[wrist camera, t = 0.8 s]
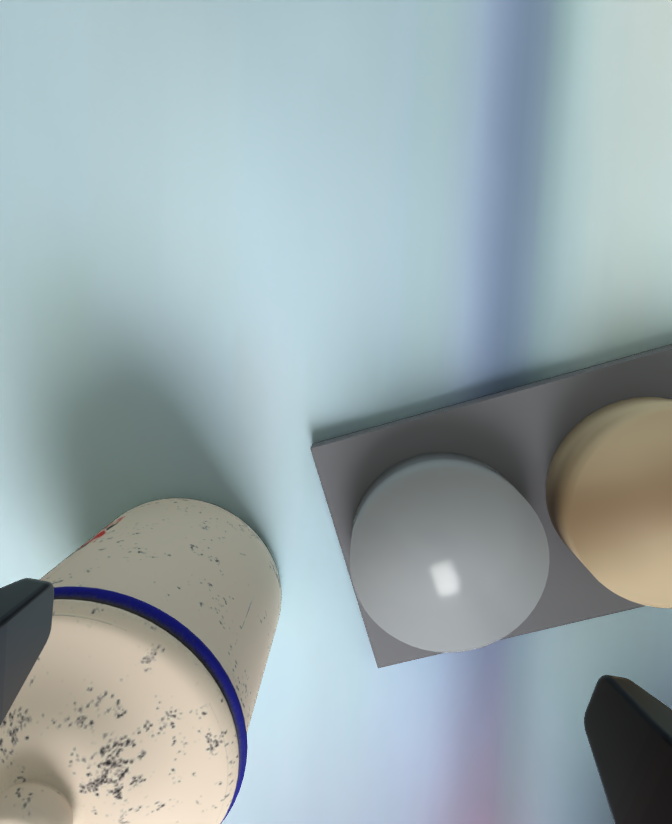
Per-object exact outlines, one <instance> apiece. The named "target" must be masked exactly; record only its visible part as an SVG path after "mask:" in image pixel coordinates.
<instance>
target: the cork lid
mask: <svg viewBox="0 0 672 824" xmlns="http://www.w3.org/2000/svg"><path fill="white" fill-rule="evenodd" d="M546 503H547V509H548V513H549V516H550V519H551V522H552V524H553V526H554V528H555V530H556V532H557V534H558V535H559V537H560V538H561V540H562V541H563V542H564V543H565V544H566V546H567V547H568V548H569V549H570V550H571V551H572V552H573V553H574V554H575V556H576V557H577V558H578V559H579V560H580V561H581V562H582V563H583V565H584V566H585V567H586V568H587V569H588V570H589V571H590V572H591V573H592V575H593V576H594V577H595V578H596V579H597V580H598V581H599V582H600V583H601V584H603V585H604V586H605V587H606V588H608V589H609V590H611V591H612V592H614V593H615V594H617V595H619V596H621V597H623V598H625V599H627V600H629V601H632V602H635V603H638V604H642V605H646V606H651V607H657V608H672V400H671V399H666V398H660V397H638V398H630V399H625V400H621V401H618V402H615V403H612V404H609V405H607V406H604V407H602V408H600V409H598V410H596V411H595V412H593V413H592V414H590V415H588V416H587V417H585V418H584V419H583V420H582V421H581V422H579V423H578V424H577V425H576V426H575V427H574V428H573V429H572V430H571V431H570V432H569V433H568V434H567V435H566V437H565V438H564V439H563V441H562V442H561V444H560V445H559V447H558V449H557V450H556V452H555V454H554V456H553V459H552V461H551V464H550V466H549V471H548V475H547V480H546Z"/></svg>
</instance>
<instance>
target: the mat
mask: <svg viewBox="0 0 672 824" xmlns="http://www.w3.org/2000/svg"><path fill="white" fill-rule="evenodd" d="M638 397H660V398H666V399H671V400H672V345H668V346H665V347H661V348H657V349H654V350H650V351H647V352H643V353H639V354H636V355H632V356H628V357H625V358H621V359H618V360H614V361H610V362H607V363H603V364H600V365H596V366H592V367H589V368H585V369H582V370H578V371H574V372H571V373H567V374H564V375H560V376H556V377H553V378H549V379H546V380H542V381H538V382H535V383H531V384H528V385H524V386H520V387H517V388H513V389H509V390H506V391H502V392H499V393H495V394H491V395H488V396H484V397H481V398H477V399H473V400H470V401H466V402H463V403H459V404H455V405H452V406H448V407H445V408H441V409H437V410H434V411H430V412H427V413H423V414H419V415H416V416H412V417H408V418H405V419H401V420H398V421H394V422H390V423H387V424H383V425H380V426H376V427H372V428H369V429H365V430H362V431H358V432H354V433H351V434H347V435H344V436H340V437H336V438H333V439H329V440H326V441H322V442H318V443H315V444H312V446H311V452H312V455H313V458H314V461H315V465H316V468H317V471H318V474H319V478H320V481H321V484H322V487H323V491H324V494H325V497H326V501H327V504H328V507H329V510H330V514H331V517H332V520H333V523H334V527H335V530H336V533H337V536H338V540H339V543H340V546H341V549H342V553H343V556H344V559H345V562H346V566H347V569H348V572H349V575H350V579H351V582H352V578H351V571H350V547H351V533H352V524H353V519H354V515H355V512H356V509H357V506H358V504H359V502H360V500H361V498H362V496H363V495H364V493H365V492H366V490H367V489H368V487H369V486H370V485H371V484H372V483H373V482H374V480H375V479H376V478H378V477H379V476H380V475H381V474H382V473H383V472H384V471H386V470H387V469H389V468H390V467H392V466H393V465H395V464H397V463H399V462H401V461H403V460H405V459H408V458H411V457H414V456H417V455H422V454H426V453H436V452H447V453H457V454H462V455H466V456H470V457H473V458H476V459H478V460H480V461H482V462H485V463H487V464H488V465H490V466H491V467H493V468H495V469H496V470H497V471H499V472H500V473H501V474H502V475H503V476H505V477H506V478H507V479H508V481H509V482H510V483H511V484H512V485H513V486H514V487H515V488H516V489H517V491H518V492H519V493H520V494H521V495H522V496H523V497H524V498H525V499H526V501H527V502H528V503H529V504H530V505H531V507H532V508H533V510H534V511H535V512H536V514H537V515H538V517H539V519H540V521H541V523H542V525H543V528H544V531H545V534H546V537H547V541H548V547H549V572H548V577H547V581H546V585H545V588H544V591H543V593H542V595H541V598H540V600H539V601H538V603H537V605H536V606H535V608H534V610H533V611H532V612H531V613H530V615H529V616H528V617H527V619H526V620H525V621H524V622H522V623H521V624H520V625H519V626H518V627H517V628H516V629H515V630H513V631H512V632H511V633H510V634H508V635H507V636H505V637H503V638H502V639H505V638H510V637H514V636H518V635H522V634H527V633H531V632H535V631H540V630H544V629H548V628H553V627H557V626H561V625H565V624H570V623H574V622H578V621H583V620H587V619H591V618H595V617H600V616H604V615H608V614H613V613H617V612H621V611H626V610H630V609H634V608H638V607H643V606H646V605H642V604H638V603H635V602H632V601H629V600H627V599H625V598H623V597H621V596H619V595H617V594H615V593H614V592H612V591H611V590H609V589H608V588H606V587H605V586H604V585H603V584H601V583H600V582H599V581H598V580H597V579H596V578H595V577H594V576H593V575H592V573H591V572H590V571H589V570H588V569H587V568H586V567H585V566H584V565H583V563H582V562H581V561H580V560H579V559H578V558H577V557H576V556H575V554H574V553H573V552H572V551H571V550H570V549H569V548H568V547H567V546H566V544H565V543H564V542H563V541H562V540H561V538H560V537H559V535H558V534H557V532H556V530H555V528H554V526H553V524H552V522H551V519H550V516H549V513H548V509H547V503H546V480H547V475H548V471H549V466H550V464H551V461H552V459H553V456H554V454H555V452H556V450H557V449H558V447H559V445H560V444H561V442H562V441H563V439H564V438H565V437H566V435H567V434H568V433H569V432H570V431H571V430H572V429H573V428H574V427H575V426H576V425H577V424H578V423H579V422H581V421H582V420H583V419H584V418H585V417H587V416H588V415H590V414H592V413H593V412H595V411H596V410H598V409H600V408H602V407H604V406H607V405H609V404H612V403H615V402H618V401H621V400H625V399H630V398H638ZM352 585H353V582H352ZM353 588H354V586H353ZM354 592H355V595H356V598H357V601H358V605H359V608H360V611H361V614H362V618H363V621H364V624H365V627H366V631H367V634H368V637H369V640H370V644H371V647H372V650H373V653H374V657H375V660H376V663H377V666H378V668H381V667H385V666H389V665H394V664H398V663H402V662H407V661H411V660H415V659H419V658H424V657H428V656H432V655H437V654H441V653H445V652H434V651H428V650H423V649H420V648H417V647H413V646H410V645H408V644H406V643H404V642H402V641H399V640H398V639H396V638H394V637H393V636H391V635H389V634H388V633H387V632H386V631H384V630H383V629H382V628H381V627H379V626H378V625H377V624H376V623H375V622H374V620H373V619H372V618H371V617H370V616H369V615H368V613H367V612H366V611H365V609H364V608H363V606H362V604H361V602H360V601H359V599H358V597H357V594H356V591H355V589H354ZM500 640H501V639H500Z"/></svg>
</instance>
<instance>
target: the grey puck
mask: <svg viewBox="0 0 672 824" xmlns="http://www.w3.org/2000/svg"><path fill="white" fill-rule="evenodd" d="M350 571H351V578H352V582H353V586H354V589H355V591H356V594H357V597H358V599H359V601H360V602H361V604H362V606H363V608H364V609H365V611H366V612H367V613H368V615H369V616H370V617H371V618H372V619H373V620H374V622H375V623H376V624H377V625H378V626H379V627H381V628H382V629H383V630H384V631H386V632H387V633H388V634H389V635H391V636H393V637H394V638H396V639H398V640H399V641H402V642H404V643H406V644H408V645H410V646H413V647H417V648H420V649H423V650H428V651H434V652H446V653H450V652H463V651H469V650H474V649H478V648H481V647H484V646H487V645H489V644H492V643H494V642H496V641H498V640H500V639H502V638H503V637H505V636H507V635H508V634H510V633H511V632H512V631H513V630H515V629H516V628H517V627H518V626H519V625H520V624H521V623H522V622H524V621H525V620H526V619H527V617H528V616H529V615H530V613H531V612H532V611H533V610H534V608H535V606H536V605H537V603H538V601H539V600H540V598H541V595H542V593H543V591H544V588H545V585H546V581H547V577H548V572H549V547H548V541H547V537H546V534H545V531H544V528H543V525H542V523H541V521H540V519H539V517H538V515H537V514H536V512H535V511H534V510H533V508H532V507H531V505H530V504H529V503H528V502H527V501H526V499H525V498H524V497H523V496H522V495H521V494H520V493H519V492H518V491H517V489H516V488H515V487H514V486H513V485H512V484H511V483H510V482H509V481H508V479H507V478H506V477H505V476H503V475H502V474H501V473H500V472H499V471H497V470H496V469H495V468H493V467H491V466H490V465H488V464H487V463H485V462H482V461H480V460H478V459H476V458H473V457H470V456H466V455H462V454H457V453H447V452H436V453H426V454H422V455H417V456H414V457H411V458H408V459H405V460H403V461H401V462H399V463H397V464H395V465H393V466H392V467H390V468H389V469H387V470H386V471H384V472H383V473H382V474H381V475H380V476H379V477H378V478H376V479H375V480H374V482H373V483H372V484H371V485H370V486H369V487H368V489H367V490H366V492H365V493H364V495H363V496H362V498H361V500H360V502H359V504H358V506H357V509H356V512H355V515H354V519H353V524H352V533H351V547H350Z"/></svg>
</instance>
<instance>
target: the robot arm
mask: <svg viewBox="0 0 672 824" xmlns="http://www.w3.org/2000/svg"><path fill="white" fill-rule="evenodd" d="M53 601H54V587H53V584H52V583H51V582H49V581H43V580H37V579H31V578H24V579H22V580H19V581H16V582H14V583H12V584H9V585H7V586H4V587H2V588H0V726H1V724H2V722H3V720H4V719H5V717H6V715H7V713H8V711H9V710H10V708H11V706H12V704H13V702H14V701H15V699H16V697H17V695H18V693H19V692H20V690H21V688H22V686H23V684H24V683H25V681H26V679H27V677H28V675H29V674H30V672H31V670H32V668H33V666H34V665H35V663H36V661H37V659H38V657H39V655H40V654H41V652H42V650H43V648H44V646H45V645H46V643H47V640H48V638H49V635H50V632H51V626H52V614H53ZM584 725H585V731H586V734H587V737H588V741H589V744H590V747H591V750H592V753H593V756H594V759H595V763H596V766H597V769H598V772H599V775H600V778H601V781H602V785H603V788H604V791H605V794H606V797H607V800H608V803H609V807H610V810H611V813H612V816H613V819H614V822H615V824H672V710H671V709H670V708H668V707H667V706H666V705H664V704H663V703H662V702H660V701H659V700H657V699H656V698H655V697H653V696H652V695H650V694H649V693H648V692H646V691H645V690H643V689H642V688H641V687H639V686H638V685H636V684H635V683H634V682H632V681H631V680H629V679H626V678H622V677H616V676H610V675H605V676H602V677H601V678H600V679H599V680H598V682H597V684H596V687H595V689H594V692H593V694H592V697H591V699H590V702H589V704H588V707H587V709H586V712H585V717H584Z"/></svg>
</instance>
